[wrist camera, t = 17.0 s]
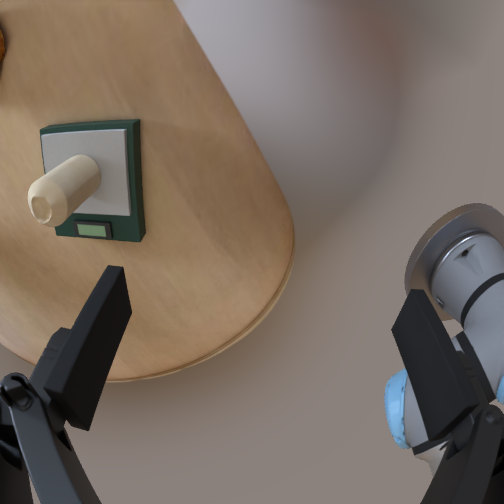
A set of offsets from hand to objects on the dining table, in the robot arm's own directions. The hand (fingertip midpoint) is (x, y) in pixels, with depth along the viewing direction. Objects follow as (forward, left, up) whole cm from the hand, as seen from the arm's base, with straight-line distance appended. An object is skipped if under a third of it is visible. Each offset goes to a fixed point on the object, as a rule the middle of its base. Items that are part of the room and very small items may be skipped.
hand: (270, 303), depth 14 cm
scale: (+22, +5, -27) cm, 35 cm away
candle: (+22, +3, -24) cm, 32 cm away
